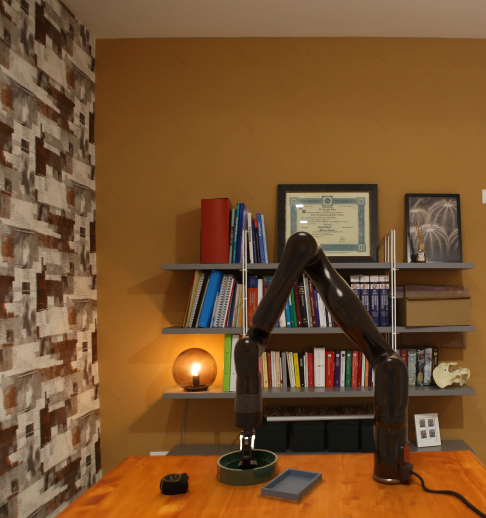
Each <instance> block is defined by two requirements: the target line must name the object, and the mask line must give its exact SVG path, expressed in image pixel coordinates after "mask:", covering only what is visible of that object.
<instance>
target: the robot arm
mask: <svg viewBox="0 0 486 518" xmlns="http://www.w3.org/2000/svg"><path fill="white" fill-rule="evenodd" d="M303 272H304V273H305V275H306V276H307V277H308V278H309V279H310V281H311V282H312V284H313V286H314V287H315V289H316V291H317V293H318V296H319V298H320V299H321V302H322V304H323V305H324V307H325V310H327V312H328V313H329V315H330V317H331V318H332V320H333V321H334V322H335V323H336V325H337V327H338V328H339V329H340V331H342V332H343V333H344V334H345V336H346V337H347V338H348V339H349V340H350V341H351V342H352V343H353V344H355V346H356V347H357V348H358V349H359V350H360V352H361V353H362V354H363V356H364V357H365V359H366V361H367V362H368V364H369V366H370V368H371V370H372V371H373V383H374V384H373V473H372V476H373V480H375V481H377V482H379V483H382V484H390V485H394V484H395V485H396V484H405V483H406V482H407V481H409V480H410V479H411V478H412V476H414V477H416V478H417V479H418V480H419V481H420V485H421V488H422V489H423V490H424V491H425V492H427V493H430V494H431V493H432V494H443V495H444V494H447V495H453V496H455V497H458V498H459V499H461V501H462V502H463V503H465V504H466V506H467V507H469V508H470V509H472V510H473V511H474V512H475V513H476V514H478V515H479V516H480V517H482V518H486V513H484V512H483V511H482V510H480V509H478V508H477V507H476V506H475V505H473V504H472V503H471V502H469V500H467V498H466V497H464V496H463V495H462V494H460V493H459V492H457V491H454V490H449V489H439V490H436V489H430V488H428V487H427V486H426V485H425V479H424V478H423V477H422V476H421V475H420V474H418V473H417V472H415V471H414V463H413V462H410V455H411V454H410V449H411V448H410V447H411V446H410V445H411V444H410V443H411V442H410V440H408V407H409V388H410V387H409V380H410V379H409V376H410V375H409V369H408V366H407V364H406V362H405V360H404V359H403V357H401V356H400V355H399V354H398V353H397V352H396V351H395V349H394V348H392V346H391V345H390V344H389V343H388V341H387V340H386V339H385V338H384V337H383V335H382V334H381V332H380V331H379V329H378V327H377V325H376V323H375V321H374V319H373V317H372V316H371V314H370V313H369V310H368V309H367V308H366V306H365V304H364V303H363V302H362V301H361V299H360V298H359V296H358V295H357V293H356V292H355V291H354V289H353V288H352V287H351V286H350V285H349V283H348V282H347V281H346V280H345V279H344V278H343V277H342V276H341V274H340V273H338V271H337V270H336V269H335V268H334V266H333V265H332V263H331V262H330V260H329V258H328V257H327V255H326V254H325V251H324V250H323V248H322V246H321V244H320V242H319V240H318V239H317V237H315V236H314V234H312V233H310V232H308V231H305V230H299V231H295V232H293V233H292V234H290V235H289V236H288V238H287V239H286V241H285V245H284V248H283V251H282V254H281V257H280V259H279V262H278V265H277V268H276V271H275V272H274V275H273V277H272V279H271V280H270V283H269V284H268V286H267V288H266V290H265V291H264V293H263V296H262V297H261V299H260V301H259V303H258V305H257V307H256V308H255V310H254V312H253V314H252V317H251V319H250V326H249V328H248V329H247V332H246V333H245V335H244V336H242V337H241V338H239V339H238V340H237V341H236V343H234V344H235V345H234V347H233V362H234V363H233V364H234V370H235V374H236V378H235V396H234V412H233V413H234V414H233V416H234V417H233V425H234V427H235V428H237V429H241V431H240V434H239V441H240V447H239V448H240V450H241V460H242V470H247V469H251V461H252V451H253V449H254V446H255V440H256V430H254V429H256V428H260V427H261V426H262V424H263V392H262V391H263V375H262V372H261V370H260V357H261V356H262V355H263V354H264V352H265V350H266V349H267V347H268V344H269V342H270V339H271V337H272V335H273V331H274V330H275V328H276V326H277V324H278V323H279V321H280V319H281V317H282V316H283V313H284V311H285V309H286V307H287V305H288V302H289V299H290V296H291V294H292V292H293V288H294V287H295V284H296V283H297V281H298V279H299V277H300V276H301V274H302V273H303ZM240 450H239V451H240Z"/></svg>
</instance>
